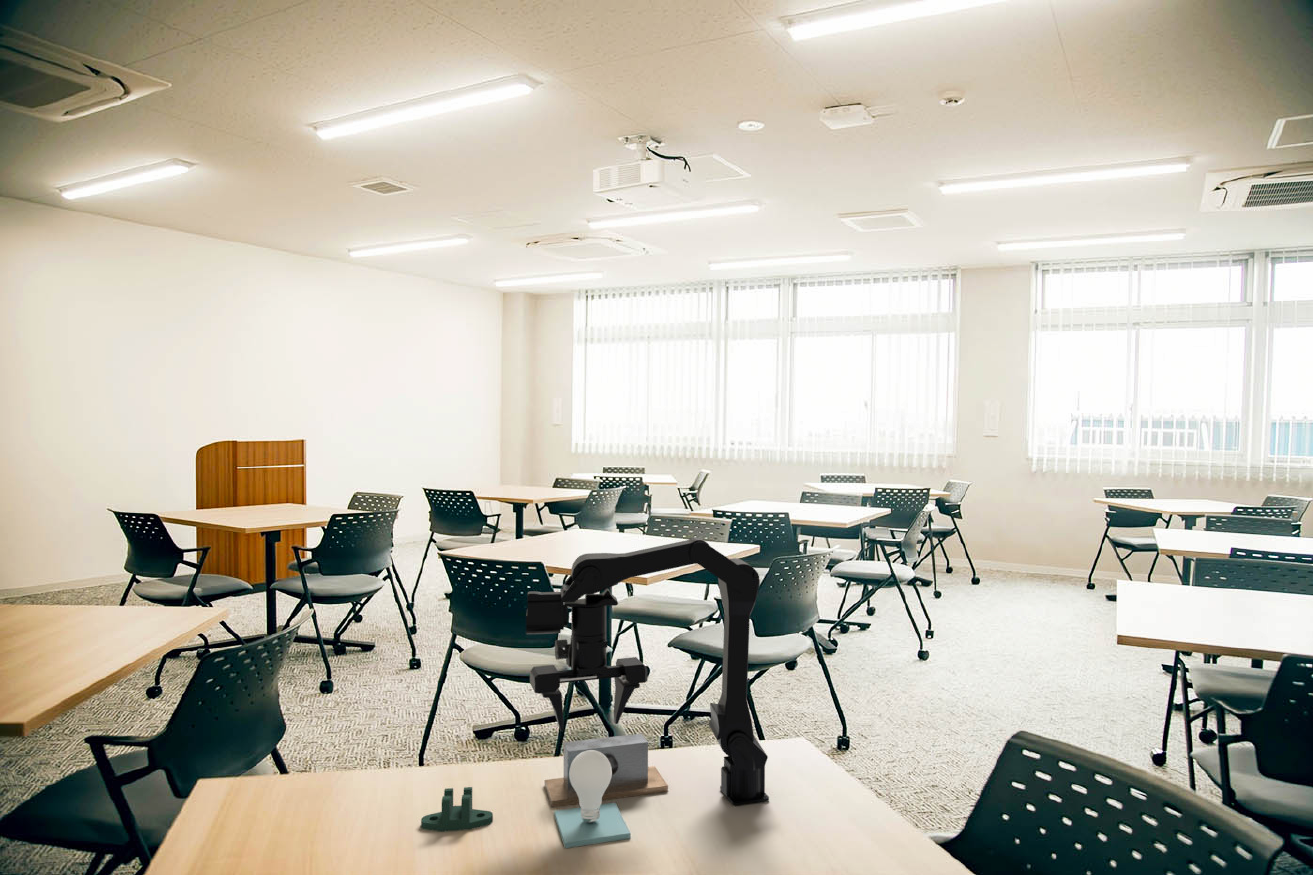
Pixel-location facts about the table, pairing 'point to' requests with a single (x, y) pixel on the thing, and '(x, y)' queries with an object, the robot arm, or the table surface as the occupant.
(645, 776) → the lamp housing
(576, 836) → the pad
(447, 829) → the mount
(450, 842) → the table surface
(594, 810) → the light bulb
